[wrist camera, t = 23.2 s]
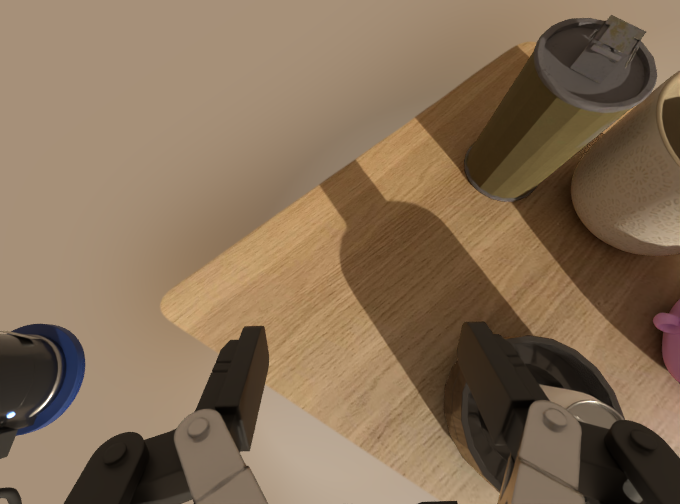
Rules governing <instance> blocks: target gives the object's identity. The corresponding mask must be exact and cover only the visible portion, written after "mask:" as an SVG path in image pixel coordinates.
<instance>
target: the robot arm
mask: <svg viewBox="0 0 680 504" xmlns="http://www.w3.org/2000/svg"><path fill="white" fill-rule="evenodd" d="M1 332H4V333H8V334H0V459H1V458H4V457H7V456H8V453H9V451H10V448H11V446H12V443H13V441H14V439H15V436H16V434H17V431H18V429H21V428H25V427H29V426H32V425H33V424H34V422H35V419H36V417H37V416H38V415H39V414H40V413H41V412H43V411H44V410H45V409H46V408H47V407H48V406H49V405H50V404H51V403H52V402H53V401H54V399H55V398H56V397H57V395H58V394H59V392H60V390H61V388H62V385H63V383H64V380H65V376H66V358H65V355H64V352H63V350H62V348H61V347H60V345H59V344H58V343H57V342H56V341H54V340H53V339H51V338H49V337H46V336H43V335H30V334H26V335H23V334H19V333H14V332H8V331H1ZM10 334H13V335H10ZM457 359H458V364H459V366H460V369H461V371H462V373H463V375H464V378H465V380H466V382H467V384H468V387H469V389H470V391H471V393H472V395H473V398H474V400H475V402H476V404H477V407H478V409H479V411H480V413H481V416H482V418H483V420H484V422H485V424H486V427H487V429H488V431H489V433H490V436H491V438H492V440H493V442H494V445H507V446H508V448H509V451H510V456H509V459H508V463H507V467H506V471H505V475H504V479H503V483H502V487H501V491H500V495H499V499H498V503H497V504H585V497H586V498H587V499H588V501H589V503H590V504H680V458H679V457H678V456H677V455H676V453H675V452H674V451H673V450H672V449H671V448H670V446H669V445H668V444H667V443H666V442H665V441H664V440H663V439H662V438H661V437H660V436H659V435H657V434H656V433H655V432H653V431H652V430H650V429H649V428H647V427H645V426H643V425H641V424H639V423H636V422H633V421H629V420H619V421H616V422H614V423H613V424H612V426H611V428H610V429H607V428H603V427H599V426H596V425H592V424H588V423H584V422H581V421H578V420H577V419H576V418H575V417H574V415H573V414H572V413H570V412H569V411H568V410H567V409H565V408H564V407H562V406H561V405H559V404H557V403H554V402H551V401H550V400H549V399H548V397H547V396H546V394H545V393H544V391H543V390H542V388H541V387H540V385H539V384H538V383H537V381H536V380H535V378H534V377H533V375H532V374H531V372H530V371H529V369H528V368H527V366H525V364H524V362H523V361H522V359H521V358H520V357H519V356H518V353H517V352H516V350H515V349H514V347H513V346H512V345H511V343H509V342H508V341H507V340H506V339H504V338H503V337H502V336H501V335H499V334H493V333H492V331H491V330H490V328H489V327H488V325H487V324H486V323H485V322H483V321H482V322H464V323H463V325H462V330H461V334H460V339H459V343H458V348H457ZM268 367H269V352H268V346H267V340H266V334H265V328H264V326H245V327H244V328H243V330H242V333H241V336H240V338H239V340H230V341H229V342H228V343H227V344H226V345H225V346H224V347H223V348H222V349H221V351H220V353H219V356H218V358H217V361H216V364H215V365H214V368H213V370H212V373H211V375H210V377H209V380H208V382H207V384H206V387H205V389H204V391H203V394H202V396H201V399H200V401H199V403H198V406H197V408H196V410H195V412H194V413H192V414H190V415H189V416H187V417H186V418H185V419H184V420H183V421H182V422H181V423H180V424H179V426H178V427H177V428H176V429H175V430H173V431H170V432H167V433H164V434H161V435H158V436H155V437H152V438H149V439H146V440H143V438H142V436H141V435H139V434H138V433H135V432H126V433H122V434H119V435H116V436H114V437H112V438H111V439H109V440H107V441H106V442H105V443H104V444H102V445H101V446H100V447H99V448H98V449H97V450H96V451H95V453H94V454H93V455H92V457H91V458H90V460H89V462H88V463H87V465H86V467H85V468H84V470H83V472H82V473H81V475H80V477H79V479H78V480H77V482H76V484H75V485H74V487H73V489H72V491H71V492H70V494H69V496H68V497H67V499H66V501H65V502H64V504H182V503H184V502H187V501H189V500H192V499H193V502H194V504H268V502H267V500H266V498H265V497H264V495H263V493H262V491H261V489H260V487H259V485H258V483H257V481H256V479H255V477H254V475H253V473H252V471H251V469H250V468H249V466H246V464H245V463H244V461H243V459H242V457H241V455H240V451H250V446H251V443H252V438H253V434H254V430H255V425H256V421H257V416H258V412H259V407H260V403H261V398H262V394H263V390H264V385H265V381H266V377H267V372H268ZM584 496H585V497H584ZM0 498H6V499H7V501H8V503H9V504H22V502H21V497H20V495H19V493H18V491H17V490H16V489H14V488H0ZM418 504H458V503H457V501H439V502H421V503H418Z"/></svg>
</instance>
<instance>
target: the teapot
mask: <svg viewBox="0 0 680 504" xmlns="http://www.w3.org/2000/svg"><path fill="white" fill-rule="evenodd" d="M653 323H654V325H655V326H656V327H657V328H658V329H659V330H661V331H663V339H662V355H663V360H664V363H665V365H666V368H667V369H668V371H669V372H670V374H671V375H672V376H673V377H674V378H675V379H676V380H677V381H678V382H679V383H680V299H679V300H678V301H677V302H676V304H675V305H674V306H673V307H672V309H671V310H670V312H669V314H668V313H659V314H657V315H656V316H655V317H654V319H653Z"/></svg>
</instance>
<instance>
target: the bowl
mask: <svg viewBox="0 0 680 504" xmlns="http://www.w3.org/2000/svg"><path fill="white" fill-rule="evenodd" d="M503 338H504V339H506V340H507V341H508V342H509V343H511V345H512V346H513V347H514V349H515V350H516V352H517V353H518V356H519V357H520V358H521V359H522V361H523V362H524V364H525V366H527V368H528V369H529V371H530V372H531V374H532V375H533V377H534V378H535V380H536V381H537V383H538V384H540V385H545V386H551V387H557V388H562V389H567V390H573V391H577V392H582V393H585V394H588V395H590V396H592V397H594V398H596V399H598V400H599V401H600V402H602V403H605V404H607V405H608V406H610V407H612V408H613V409H614V410H616V411H617V412H618V413H619V414H620V415H621V416H622V417H623V418H624V416H623V413H622V411H621V408H620V405H619V403H618V400H617V398H616V395H615V393H614V391H613V389H612V388H611V387H610V385H609V384H608V382H607V381H606V380H605V378H604V377H603V375H602V374H601V373H600V371H599V370H598V369H597V368H596V367H595V366H594V365H593V364H592V363H591V362H589V361H588V360H587V359H586V358H585V357H584V356H582V355H581V354H580V353H579V352H578V351H576V350H575V349H572V348H570V347H568V346H566V345H564V344H562V343H560V342H558V341H555V340H553V339H549V338H543V337H536V336H530V335H525V336H512V337H503ZM444 413H445V417H446V421H447V425H448V430H449V434H450V436H451V438H452V439H453V441H454V443H455V445H456V447H457V449H458V450H459V452H460V454H461V456H462V457H463V458H464V459H465V460H466V461H467V462H468V463H469V464H470V465H471V466H472V467H473V469H474V470H475V471H476V472H477V473H478V474H479V475H480V476H482V477H483V478H484V479H485V480H486V481H487V482H488V483H489V484H490V485H491V486H492V487H494V488H495V489H496V490H497V491H498V492H499V493H500V491H501V487H502V483H503V479H504V475H505V471H506V467H507V463H508V459H509V456H510V451H509V448H508V446H507V445H494V442H493V440H492V438H491V436H490V433H489V431H488V429H487V427H486V424H485V422H484V420H483V418H482V416H481V413H480V411H479V409H478V407H477V404H476V402H475V400H474V398H473V395H472V393H471V391H470V389H469V387H468V384H467V382H466V380H465V378H464V375H463V373H462V371H461V369H460V366H459V364H458V360H457V361H456V363H455V364H454V365H453V367H452V369H451V372H450V374H449V377H448V380H447V382H446V385H445V396H444ZM624 420H625V418H624ZM584 497H585V496H584ZM585 504H590V503H589V501H588V499H587V498H586V497H585Z"/></svg>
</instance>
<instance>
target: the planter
mask: <svg viewBox="0 0 680 504" xmlns="http://www.w3.org/2000/svg"><path fill="white" fill-rule="evenodd" d="M571 197H572V202H573V206H574V208H575V211H576V213H577V215H578V217H579V218H580V220H581V221H582V223H583V224H584V225H585V226H586V227H587V229H588V230H589V231H590V232H592V233H593V234H594V235H595V236H596V237H598V238H599V239H600V240H602V241H603V242H605V243H607V244H609V245H611V246H613V247H615V248H617V249H620V250H623V251H626V252H629V253H633V254H639V255H648V256H664V255H674V254H680V71H678V72H677V73H675V74H674V75H673V76H671V77H670V78H669V79H667V80H666V81H665V82H664V83H663V84H661V85H660V86H659V87H658V88H657V89H655V90H654V91H653V92H652V93H651V94H650V95H649V96H648V97H647V98H646V99H645V100H644V101H643V102H641V103H640V104H638V105H637V106H636V107H635V108H634V109H632V110H631V111H630V112H629V113H628V114H627V115H625V116H624V117H623V118H622V119H621V120H620V121H618V122H617V123H616V124H615V125H614V126H613V127H612V128H611V129H609V130H608V131H607V132H606V133H605V134H604V135H603V136H602V137H601V138H600V139H599V140H598V141H597V142H596V143H595V144H594V145H593V146H592V147H591V148H590V149H589V150H588V151H587V152H586V153H585V155H584V156H583V157H582V159H581V160H580V162H579V163H578V165H577V167H576V169H575V171H574V174H573V177H572V182H571Z"/></svg>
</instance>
